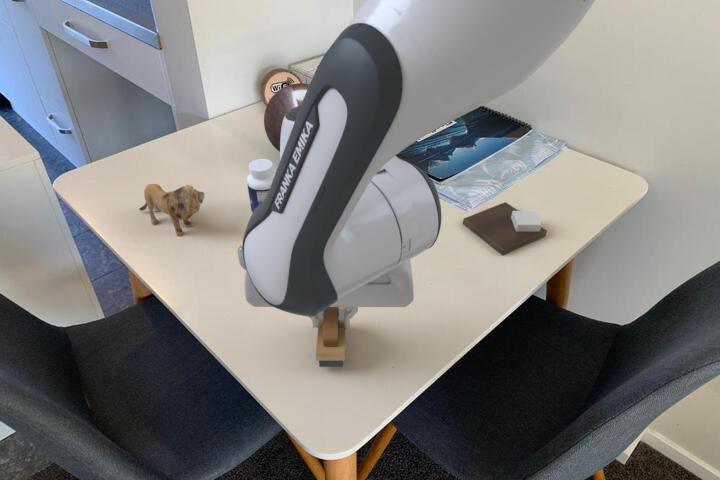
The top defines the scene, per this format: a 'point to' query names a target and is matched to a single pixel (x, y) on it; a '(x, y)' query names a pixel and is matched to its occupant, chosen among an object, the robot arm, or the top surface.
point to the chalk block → (526, 221)
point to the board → (500, 229)
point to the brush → (331, 340)
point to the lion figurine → (173, 204)
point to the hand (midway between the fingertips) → (331, 324)
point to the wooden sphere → (282, 110)
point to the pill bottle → (259, 181)
